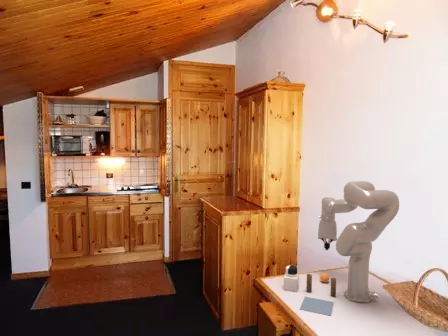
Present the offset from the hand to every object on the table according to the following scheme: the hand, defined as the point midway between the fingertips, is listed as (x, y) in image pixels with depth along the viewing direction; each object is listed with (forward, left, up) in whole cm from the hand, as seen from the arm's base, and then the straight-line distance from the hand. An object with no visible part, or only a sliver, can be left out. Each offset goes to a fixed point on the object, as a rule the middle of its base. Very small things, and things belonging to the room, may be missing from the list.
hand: (326, 249), depth 190 cm
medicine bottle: (+15, +26, -16) cm, 34 cm away
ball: (0, +10, -14) cm, 17 cm away
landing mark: (0, +40, -16) cm, 43 cm away
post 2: (-6, +26, -16) cm, 31 cm away
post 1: (+6, +26, -16) cm, 31 cm away
